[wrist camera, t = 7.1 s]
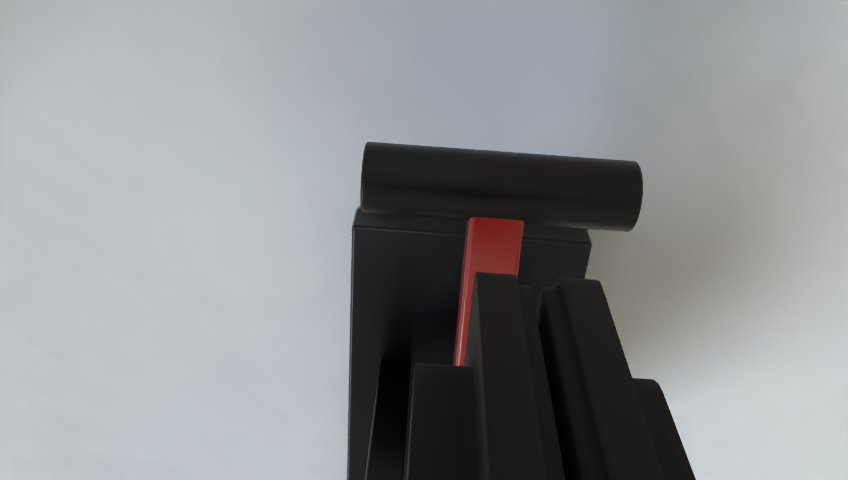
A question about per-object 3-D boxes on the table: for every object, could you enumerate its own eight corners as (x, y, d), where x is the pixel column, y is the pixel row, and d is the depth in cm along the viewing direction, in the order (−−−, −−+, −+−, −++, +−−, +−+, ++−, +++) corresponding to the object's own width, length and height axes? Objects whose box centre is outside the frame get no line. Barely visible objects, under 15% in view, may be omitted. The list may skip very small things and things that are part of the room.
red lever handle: (370, 131, 16) (359, 155, 13) (623, 149, 16) (655, 177, 13) (349, 600, 20) (338, 678, 18) (547, 613, 20) (560, 693, 18)
